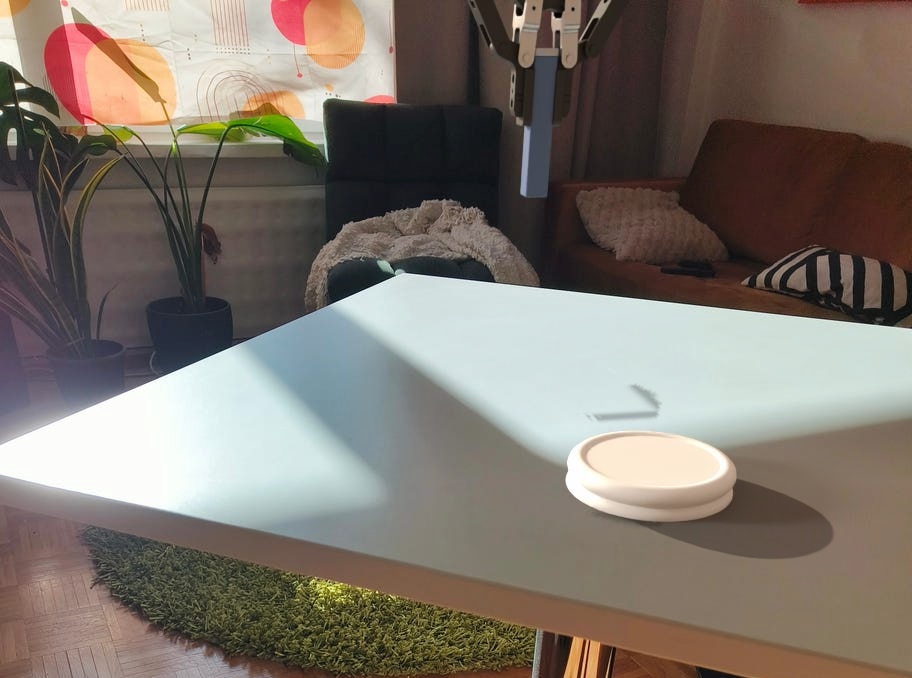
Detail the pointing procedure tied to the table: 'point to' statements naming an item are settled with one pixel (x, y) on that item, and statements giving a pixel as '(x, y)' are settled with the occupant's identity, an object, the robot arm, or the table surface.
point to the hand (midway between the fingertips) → (538, 124)
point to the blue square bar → (540, 125)
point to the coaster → (651, 476)
